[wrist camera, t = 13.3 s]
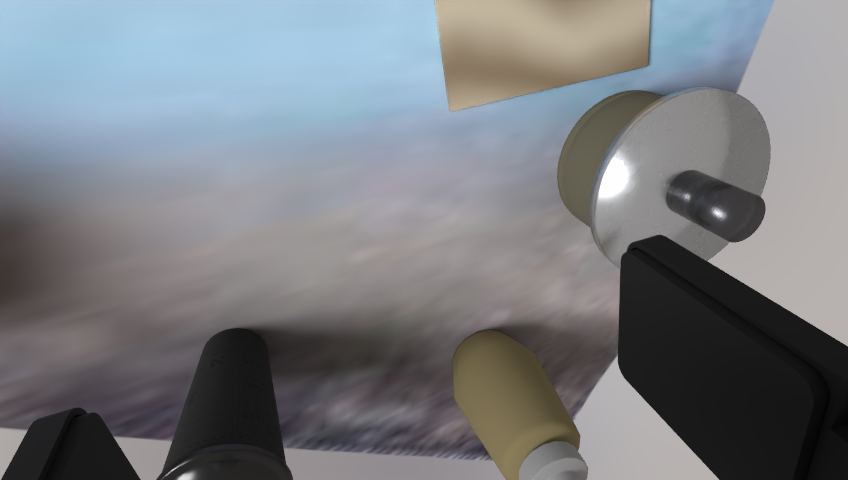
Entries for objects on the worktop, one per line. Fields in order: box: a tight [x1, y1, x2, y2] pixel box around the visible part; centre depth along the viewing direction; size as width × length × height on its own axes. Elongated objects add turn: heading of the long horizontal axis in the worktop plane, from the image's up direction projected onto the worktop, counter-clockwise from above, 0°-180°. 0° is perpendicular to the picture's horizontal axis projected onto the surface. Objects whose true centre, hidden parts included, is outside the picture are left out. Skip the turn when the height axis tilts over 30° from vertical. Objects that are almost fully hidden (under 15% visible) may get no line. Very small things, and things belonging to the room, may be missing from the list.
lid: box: [589, 87, 770, 269], centre depth 34 cm, size 14×14×6 cm
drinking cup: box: [156, 329, 293, 480], centre depth 32 cm, size 8×8×20 cm
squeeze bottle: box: [453, 330, 588, 480], centre depth 40 cm, size 8×8×18 cm
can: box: [557, 90, 664, 227], centre depth 40 cm, size 12×12×7 cm
